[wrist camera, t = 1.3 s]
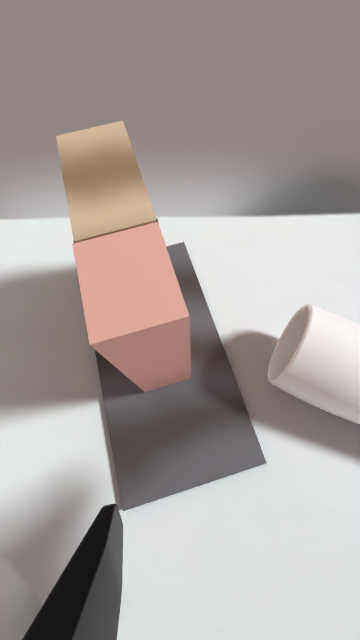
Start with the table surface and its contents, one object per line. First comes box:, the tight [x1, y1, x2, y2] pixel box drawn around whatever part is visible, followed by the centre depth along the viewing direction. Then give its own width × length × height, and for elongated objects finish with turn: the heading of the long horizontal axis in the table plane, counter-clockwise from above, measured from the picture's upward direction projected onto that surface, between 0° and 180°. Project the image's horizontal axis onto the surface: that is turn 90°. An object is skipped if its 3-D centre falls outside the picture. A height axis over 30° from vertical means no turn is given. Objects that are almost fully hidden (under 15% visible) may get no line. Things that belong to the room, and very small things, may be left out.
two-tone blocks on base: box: [56, 121, 266, 511], centre depth 18 cm, size 22×11×14 cm, turn 16°
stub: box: [73, 222, 191, 392], centre depth 17 cm, size 5×4×13 cm
